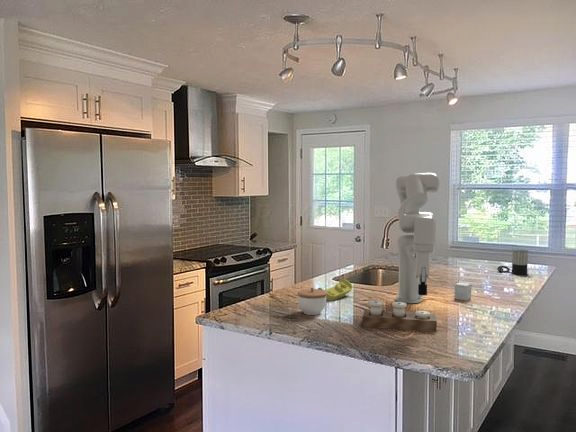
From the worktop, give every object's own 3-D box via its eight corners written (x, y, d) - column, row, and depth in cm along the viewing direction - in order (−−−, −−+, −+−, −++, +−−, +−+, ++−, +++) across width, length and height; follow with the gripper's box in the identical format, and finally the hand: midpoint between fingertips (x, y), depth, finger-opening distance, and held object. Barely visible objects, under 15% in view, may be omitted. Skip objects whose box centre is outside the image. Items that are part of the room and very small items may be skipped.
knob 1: (378, 312, 198) (378, 299, 198) (385, 316, 193) (385, 302, 192) (366, 314, 196) (366, 300, 196) (373, 317, 191) (373, 304, 190)
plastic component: (332, 297, 230) (317, 285, 236) (327, 309, 233) (312, 297, 239) (356, 287, 244) (342, 276, 250) (351, 299, 247) (337, 288, 253)
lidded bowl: (317, 318, 202) (318, 292, 202) (292, 314, 209) (292, 288, 208) (331, 311, 213) (331, 286, 212) (306, 307, 220) (306, 283, 219)
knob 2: (401, 314, 196) (401, 301, 196) (409, 317, 191) (409, 304, 190) (389, 315, 194) (389, 302, 194) (396, 319, 189) (397, 305, 188)
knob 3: (424, 323, 194) (424, 309, 194) (432, 326, 189) (433, 313, 188) (412, 324, 192) (412, 311, 192) (420, 328, 187) (421, 314, 187)
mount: (362, 326, 191) (362, 316, 191) (364, 319, 201) (364, 309, 200) (436, 331, 184) (436, 321, 184) (434, 324, 194) (435, 314, 194)
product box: (453, 298, 236) (454, 283, 236) (459, 296, 241) (459, 282, 240) (466, 300, 232) (466, 285, 232) (471, 298, 237) (471, 283, 236)
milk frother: (530, 275, 296) (531, 251, 295) (504, 275, 296) (505, 251, 295) (519, 271, 310) (520, 248, 309) (495, 271, 310) (495, 248, 309)
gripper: (413, 245, 197) (412, 289, 198) (413, 250, 182) (412, 298, 183) (432, 245, 195) (431, 290, 196) (434, 251, 180) (433, 299, 182)
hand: (422, 294), depth 190 cm, fingers closed
